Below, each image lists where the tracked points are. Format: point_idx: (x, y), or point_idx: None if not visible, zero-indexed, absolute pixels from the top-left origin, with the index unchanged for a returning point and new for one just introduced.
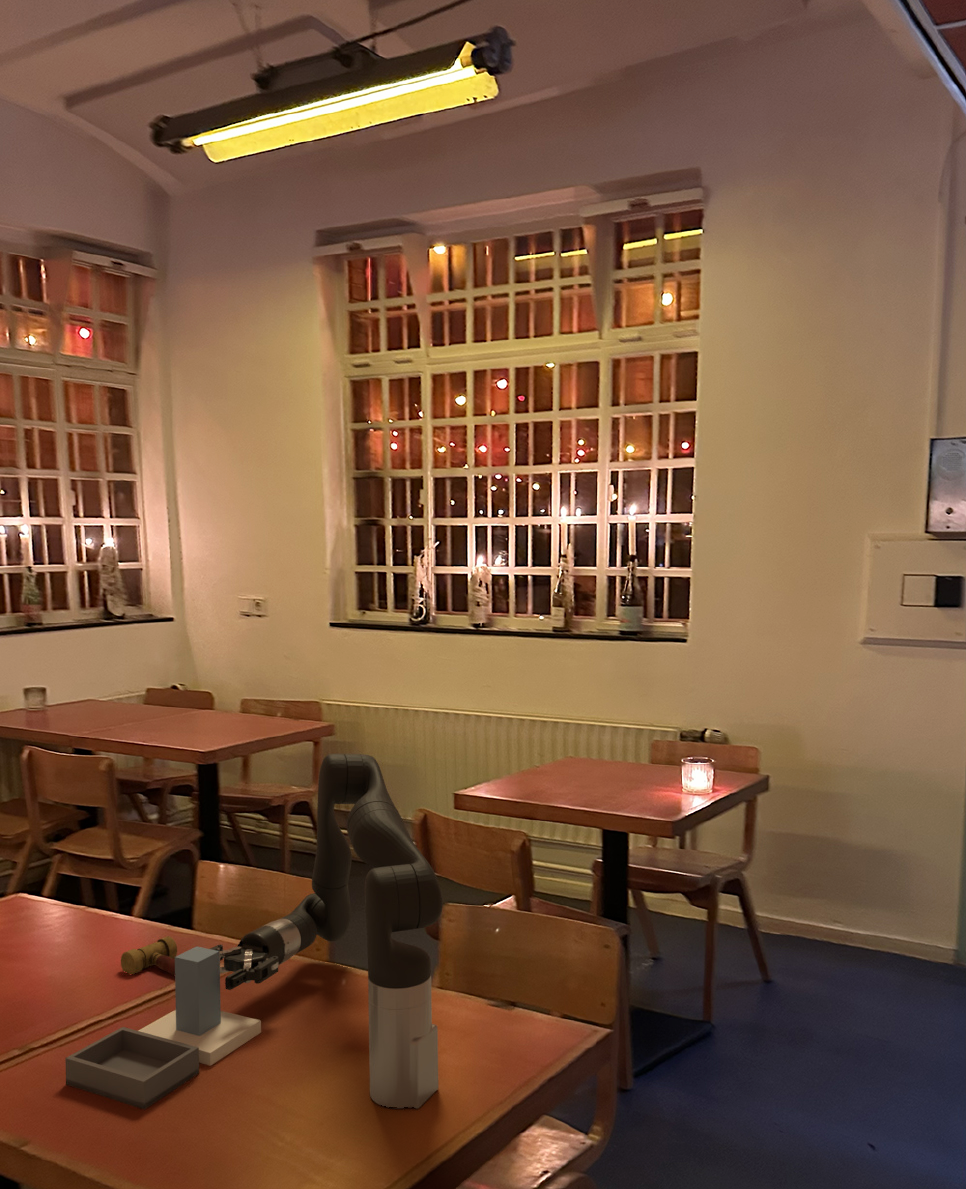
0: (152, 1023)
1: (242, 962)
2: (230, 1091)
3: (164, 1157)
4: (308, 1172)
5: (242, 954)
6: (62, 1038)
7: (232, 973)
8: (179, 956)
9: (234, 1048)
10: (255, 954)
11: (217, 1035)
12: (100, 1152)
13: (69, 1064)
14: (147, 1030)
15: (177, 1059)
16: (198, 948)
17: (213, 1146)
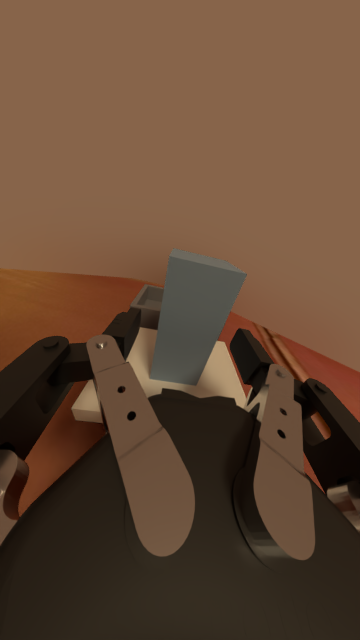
0: (229, 358)
1: (150, 397)
2: (88, 312)
3: (109, 281)
4: (14, 271)
5: (210, 491)
6: (276, 349)
7: (134, 318)
8: (221, 260)
9: None
10: (108, 563)
11: (134, 350)
12: (143, 285)
13: None
14: (218, 346)
15: (138, 295)
16: (229, 268)
17: (84, 283)
